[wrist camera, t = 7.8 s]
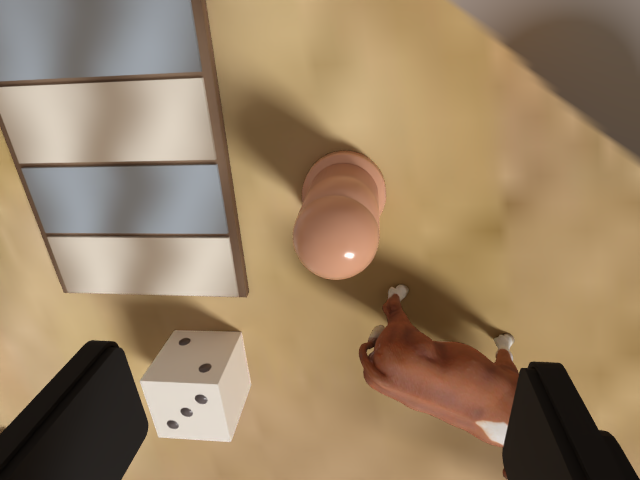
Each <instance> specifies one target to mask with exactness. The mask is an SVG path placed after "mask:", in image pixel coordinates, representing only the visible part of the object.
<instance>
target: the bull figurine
mask: <svg viewBox="0 0 640 480" xmlns="http://www.w3.org/2000/svg"><path fill="white" fill-rule="evenodd" d="M408 292H409V290H408V288H407V287H406V286H405V285H398V286H397V287H396V288H393V287H391V288H390V289H389V291H388V300H387V302H386V303H385V304H384V305H383V307H382V309H383V311H384V313H385V314H386V316H387V319H388V325H387V326H386V328H385V327H384V326H383V325H379V326H376V327H374V329H373V330H372V332H371V334H370V336H369V340H368V343H364V344H362V345H361V346H360V349H359V357H360V361H361V363H362V366H363V368H364V371H363V374H364V378H365V380H366V382H367V383H368V384H369V385H370V386H371V387H372V388H373V389H375V390H377V391H378V392H380V393H382V394H384V395H386V396H388V397H391V398H393V399H395V400H397V401H399V402H401V403H402V404H404V405H406V406H407V407H409V408H411V409H413V410H416V411H420V412H424V413H427V414H430V415H432V416H434V417H437V418H439V419H441V420H443V421H445V422H447V423H449V424H451V425H453V426H456V427H458V428H461V429H463V430H466V431H467V432H469V433H470V434H472V435H473V436H475V437H476V438H478V439H480V440H482V441H484V442H486V443H488V444H491V445H495V446H499V447H503V445H504V441H505V436H506V432H507V427H508V422H509V418H510V413H511V409H512V404H513V399H514V395H515V390H516V386H517V381H518V377H519V373H518V370H517V368H516V366H515V365H514V363H513V356H512V354H511V352H510V351H509V349H510V346H511V345H512V344H513V343H514V337H513V336H512V335H510V334H504V335H499V337H497V338H494V342H495V344H496V346H497V347H498V351H497V352H496V362H495V363H493V362H492V361H490V360H489V359H488V358H487V357H486V356H484V355H483V354H482V353H481V352H479V351H478V350H476V349H474V348H472V347H471V346H468V345H466V344H463V343H459V342H448V341H432V340H431V339H430V338H429V337H428V336H426V335H425V334H423V333H421V332H420V331H419V330H418V329H416V328H415V327H414V326H413V325H412V324H411V322H410V321H409V319H408V317H407V315H406V314H405V313H404V311H403V310H402V306H401V303H400V302H401V300H402V299H403V298H405V297H406V295H407V293H408ZM373 347H374V351H373V352H372V353H370V354H369V356H368V355H367V353H366V352H367V350H368V349H371V348H373ZM503 476H504V477H505V478H506V479H507V475H506V472H505V468H504V469H503Z"/></svg>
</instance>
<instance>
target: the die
mask: <svg viewBox="0 0 640 480" xmlns="http://www.w3.org/2000/svg"><path fill="white" fill-rule="evenodd" d="M140 383H141V386H142V389H143V392H144V395H145V398H146V401H147V404H148V407H149V410H150V413H151V416H152V419H153V422H154V425H155V428H156V431H157V434H158V437H162V438H177V439H193V440H208V441H224V442H231V440H232V438H233V435H234V432H235V429H236V426H237V424H238V421H239V418H240V415H241V412H242V410H243V407H244V404H245V401H246V398H247V395H248V393H249V390H250V387H251V381H250V375H249V370H248V364H247V359H246V353H245V347H244V342H243V336H242V332H230V331H192V330H174V331H173V333H172V334H171V336H170V337H169V339H168V340H167V342H166V343H165V345H164V346H163V347H162V349H161V350H160V352H159V353H158V355H157V356H156V358H155V359H154V361H153V362H152V364H151V365H150V366H149V368H148V369H147V371H146V372H145V374H144V375H143V377H142V378H141V380H140Z"/></svg>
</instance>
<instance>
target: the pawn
mask: <svg viewBox="0 0 640 480" xmlns="http://www.w3.org/2000/svg"><path fill="white" fill-rule="evenodd" d="M302 200H303V204H302V207H301V209H300V211H299V214H298V216H297V218H296V221H295V224H294V228H293V245H294V249H295V252H296V254H297V256H298V258H299V260H300V261H301V262H302V264H303V265H304V266H305V267H306V268H307V269H308V270H309V271H311V272H312V273H314V274H315V275H317V276H320V277H323V278H326V279H332V280H340V279H346V278H350V277H352V276H355V275H357V274H358V273H360V272H361V271H363V270H364V269H365V268H366V267H367V266H368V265H369V264H370V263H371V261H372V260H373V258H374V257H375V254H376V252H377V249H378V246H379V238H380V233H379V217H380V215H381V213H382V212H383V209H384V206H385V202H386V187H385V181H384V178H383V175H382V173H381V171H380V169H379V168H378V166H377V165H376V164H375V163H374V162H373V161H372V160H371V159H369V158H368V157H366V156H364V155H362V154H360V153H357V152H353V151H336V152H332V153H329V154H327V155H325V156H323V157H322V158H320V159H319V160H318V161H317V162H315V163H314V165H313V166H312V167H311V169H310V170H309V172H308V174H307V176H306V179H305V181H304V184H303V188H302Z"/></svg>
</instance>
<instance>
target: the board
mask: <svg viewBox="0 0 640 480" xmlns="http://www.w3.org/2000/svg"><path fill="white" fill-rule="evenodd" d="M0 127H1V130H2V132H3V135H4V137H5V140H6V143H7V145H8V148H9V150H10V153H11V156H12V158H13V161H14V164H15V166H16V169H17V171H18V174H19V177H20V179H21V182H22V184H23V187H24V190H25V192H26V195H27V197H28V200H29V203H30V205H31V208H32V211H33V213H34V216H35V218H36V221H37V224H38V226H39V229H40V231H41V234H42V237H43V239H44V242H45V245H46V247H47V250H48V252H49V255H50V258H51V260H52V263H53V265H54V268H55V271H56V273H57V276H58V279H59V281H60V284H61V286H62V289H63V292H64V293H95V294H135V295H176V296H216V297H247V296H248V293H249V288H248V281H247V275H246V268H245V261H244V254H243V248H242V241H241V234H240V228H239V221H238V214H237V208H236V201H235V194H234V187H233V181H232V174H231V167H230V161H229V154H228V147H227V141H226V134H225V127H224V121H223V114H222V107H221V100H220V94H219V87H218V80H217V74H216V67H215V60H214V54H213V47H212V40H211V33H210V27H209V20H208V13H207V7H206V0H0Z"/></svg>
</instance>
